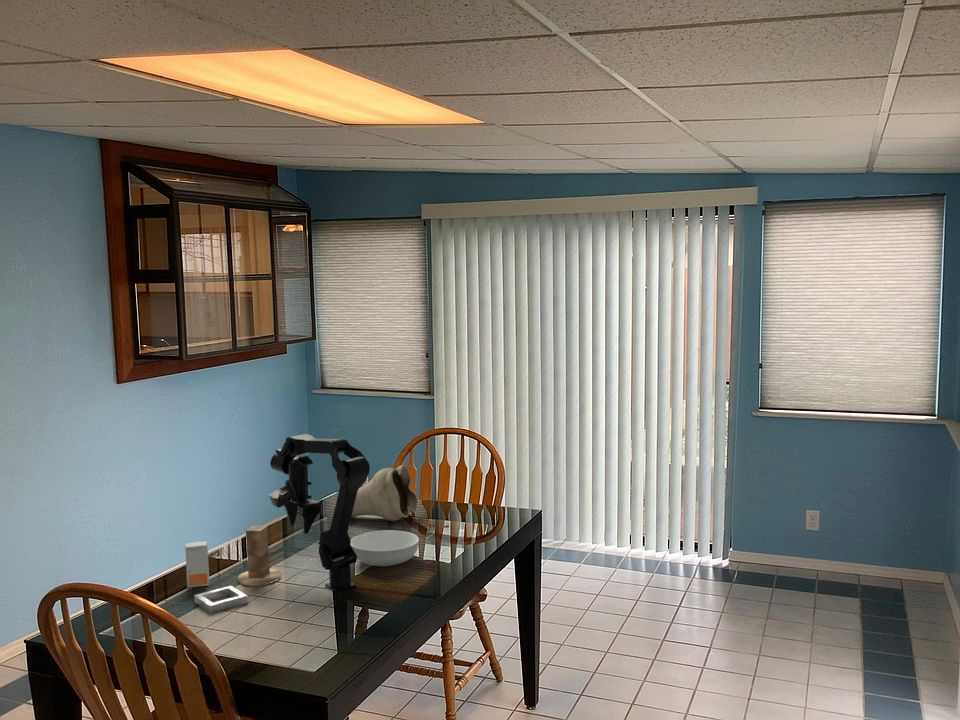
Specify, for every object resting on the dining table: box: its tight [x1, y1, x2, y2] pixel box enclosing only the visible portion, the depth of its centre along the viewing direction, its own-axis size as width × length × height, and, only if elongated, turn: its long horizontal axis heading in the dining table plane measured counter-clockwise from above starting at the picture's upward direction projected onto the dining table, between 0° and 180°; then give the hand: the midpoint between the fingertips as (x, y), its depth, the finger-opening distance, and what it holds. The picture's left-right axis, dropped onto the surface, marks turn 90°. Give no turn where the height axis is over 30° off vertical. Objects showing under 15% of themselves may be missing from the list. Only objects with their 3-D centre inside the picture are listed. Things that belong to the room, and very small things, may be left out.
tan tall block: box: [245, 525, 271, 578], centre depth 258 cm, size 4×4×14 cm
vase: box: [351, 464, 418, 522], centre depth 317 cm, size 23×23×30 cm
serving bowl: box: [350, 529, 420, 567], centre depth 271 cm, size 21×21×7 cm
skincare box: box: [184, 540, 210, 589], centre depth 255 cm, size 6×4×12 cm
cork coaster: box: [237, 568, 281, 587], centre depth 259 cm, size 12×12×1 cm
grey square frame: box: [193, 585, 249, 614], centre depth 241 cm, size 10×10×2 cm
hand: (298, 529), depth 262 cm, fingers open, 9 cm apart
